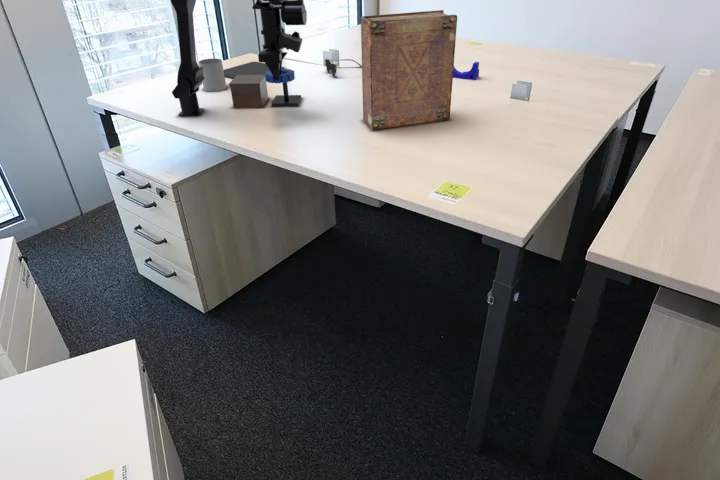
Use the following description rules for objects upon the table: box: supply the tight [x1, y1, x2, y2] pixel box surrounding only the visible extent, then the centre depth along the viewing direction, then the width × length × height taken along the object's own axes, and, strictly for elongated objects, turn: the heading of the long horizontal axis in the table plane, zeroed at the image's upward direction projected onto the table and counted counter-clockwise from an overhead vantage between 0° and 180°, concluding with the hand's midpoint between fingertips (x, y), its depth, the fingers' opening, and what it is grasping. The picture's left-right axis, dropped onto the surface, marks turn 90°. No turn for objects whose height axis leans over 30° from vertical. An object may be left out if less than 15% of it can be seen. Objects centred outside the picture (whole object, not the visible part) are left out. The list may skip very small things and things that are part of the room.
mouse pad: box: [223, 61, 286, 79], centre depth 202 cm, size 23×20×1 cm
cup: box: [198, 58, 227, 93], centre depth 180 cm, size 8×8×10 cm
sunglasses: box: [324, 58, 362, 78], centre depth 196 cm, size 14×16×5 cm
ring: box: [265, 68, 296, 84], centre depth 153 cm, size 9×9×2 cm
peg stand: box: [271, 82, 302, 108], centre depth 165 cm, size 9×9×8 cm
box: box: [228, 75, 269, 109], centre depth 165 cm, size 10×10×8 cm
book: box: [360, 9, 458, 131], centre depth 141 cm, size 25×9×30 cm, turn 107°
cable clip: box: [453, 61, 480, 81], centre depth 186 cm, size 12×4×6 cm, turn 62°
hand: (278, 79), depth 150 cm, fingers closed on ring, 2 cm apart
